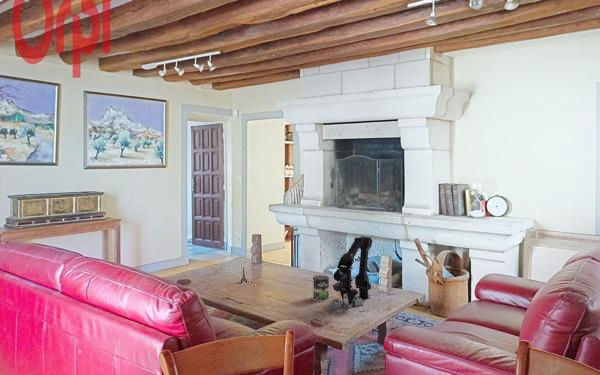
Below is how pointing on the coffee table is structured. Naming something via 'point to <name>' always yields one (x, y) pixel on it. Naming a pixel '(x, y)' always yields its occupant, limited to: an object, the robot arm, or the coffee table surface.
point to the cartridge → (345, 299)
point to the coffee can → (320, 288)
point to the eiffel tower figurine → (243, 276)
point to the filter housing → (341, 305)
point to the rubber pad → (331, 311)
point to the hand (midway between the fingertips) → (346, 302)
